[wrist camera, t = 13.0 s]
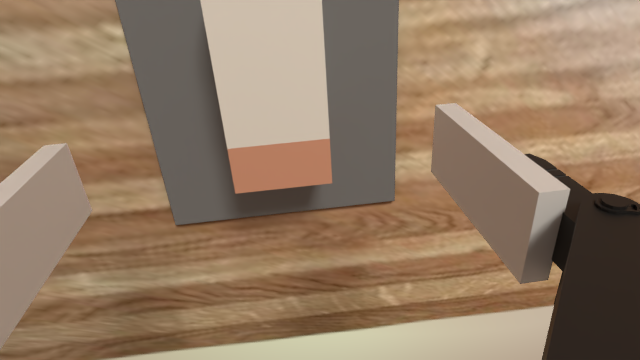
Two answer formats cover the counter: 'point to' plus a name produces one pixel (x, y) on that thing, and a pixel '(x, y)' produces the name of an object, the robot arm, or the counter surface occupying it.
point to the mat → (206, 122)
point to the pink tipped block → (271, 90)
